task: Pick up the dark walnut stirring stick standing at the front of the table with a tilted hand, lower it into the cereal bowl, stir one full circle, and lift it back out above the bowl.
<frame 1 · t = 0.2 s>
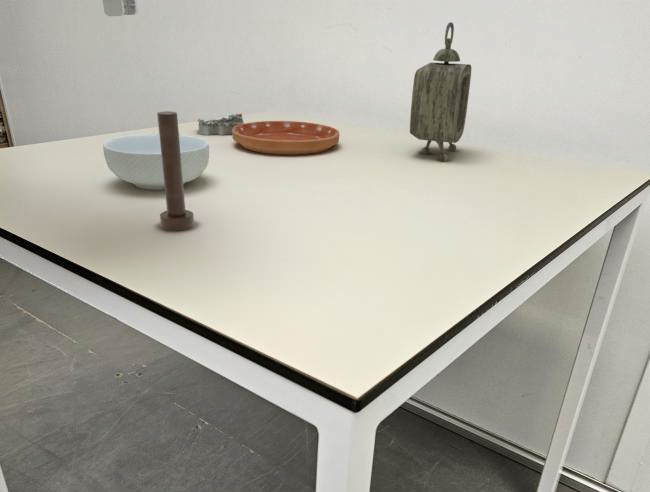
hand: (122, 15, 66), 26 cm above the table, tool pointing down, fingers open, 8 cm apart
saucer: (286, 147, 131), on the table
cereal bowl: (161, 186, 101), on the table
egg carton: (221, 134, 142), on the table
stirring stick: (178, 228, 82), on the table
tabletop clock: (434, 156, 126), on the table
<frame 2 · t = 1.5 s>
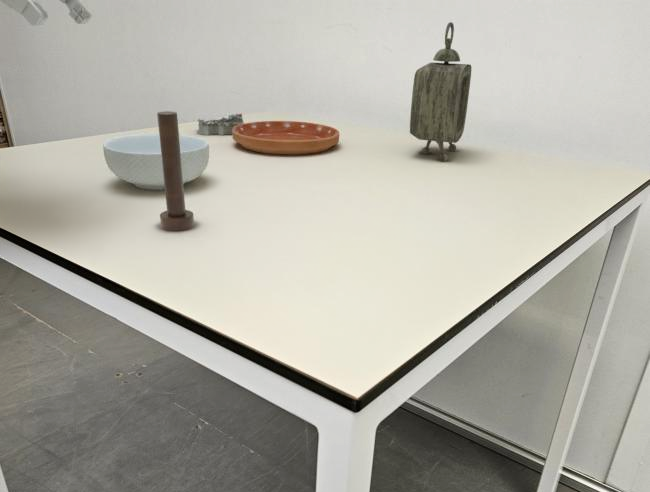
hand: (65, 20, 72), 25 cm above the table, tool tilted 45°, fingers open, 8 cm apart
nothing on the table moved.
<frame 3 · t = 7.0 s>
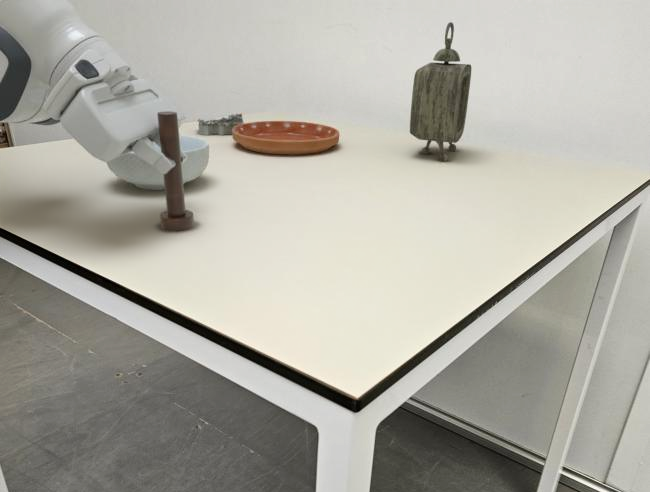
hand: (176, 166, 78), 8 cm above the table, tool tilted 45°, fingers closed on stirring stick, 2 cm apart
stirring stick: (178, 228, 82), on the table, touching gripper
everything else where it was.
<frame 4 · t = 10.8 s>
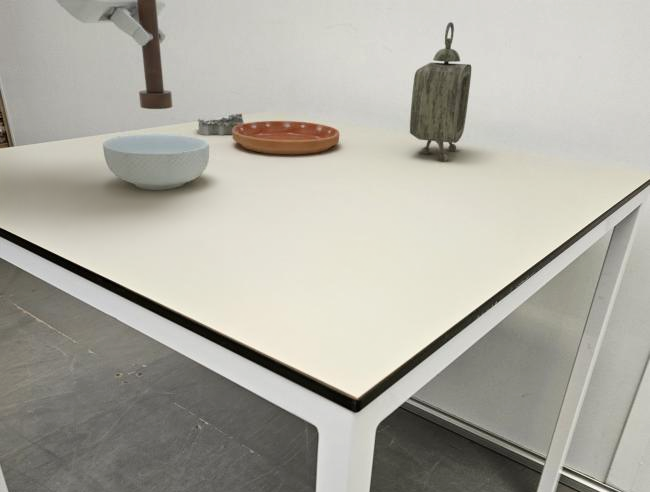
hand: (154, 41, 81), 22 cm above the table, tool tilted 45°, fingers closed on stirring stick, 2 cm apart
stirring stick: (156, 106, 85), point 14 cm above the table, touching gripper
everything else where it was.
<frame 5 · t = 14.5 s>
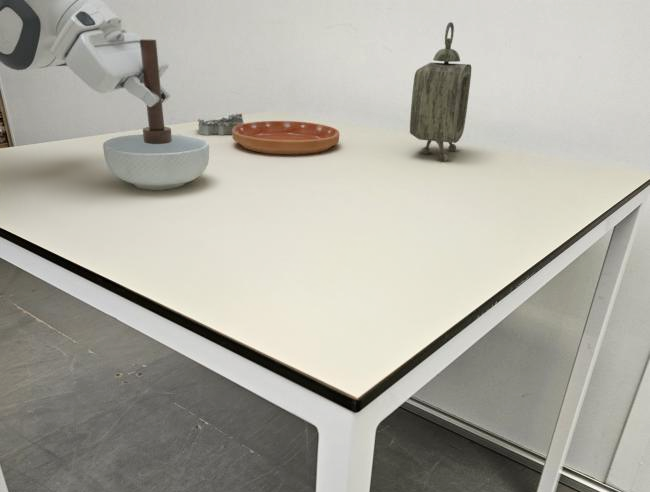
hand: (160, 101, 95), 13 cm above the table, tool tilted 45°, fingers closed on stirring stick, 2 cm apart
cereal bowl: (161, 186, 101), on the table, touching stirring stick
stirring stick: (158, 141, 98), point 7 cm above the table, touching cereal bowl, gripper
everything else where it was.
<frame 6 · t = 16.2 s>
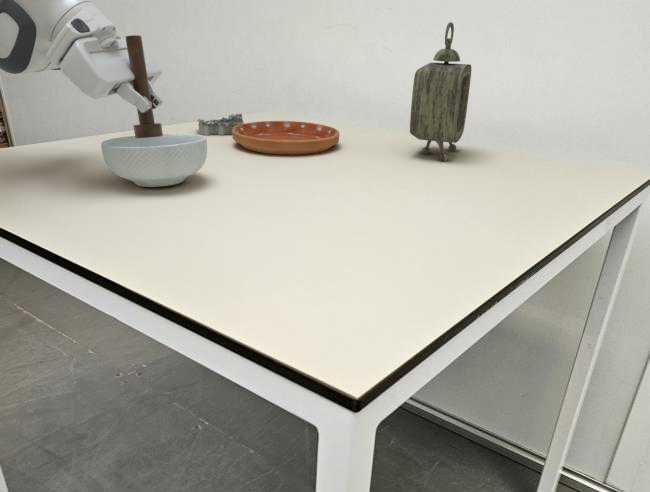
hand: (153, 107, 97), 12 cm above the table, tool tilted 45°, fingers closed on stirring stick, 2 cm apart
cereal bowl: (161, 183, 101), on the table
stirring stick: (149, 137, 99), point 8 cm above the table, tilted 9°, touching gripper
everything else where it was.
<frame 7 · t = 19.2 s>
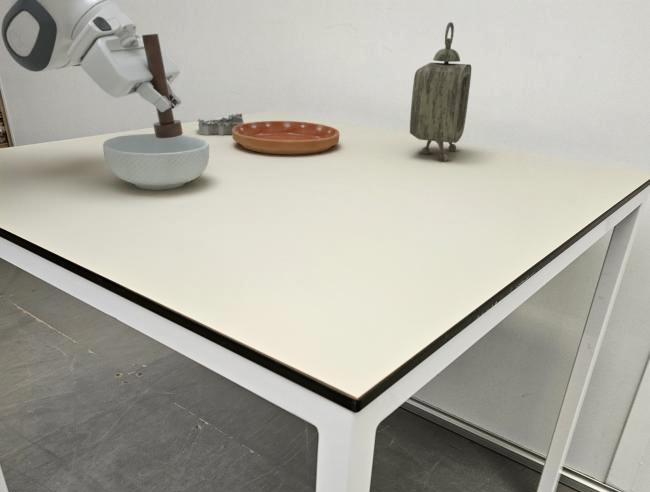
hand: (172, 107, 97), 12 cm above the table, tool tilted 45°, fingers closed on stirring stick, 2 cm apart
stirring stick: (169, 135, 99), point 8 cm above the table, tilted 6°, touching gripper
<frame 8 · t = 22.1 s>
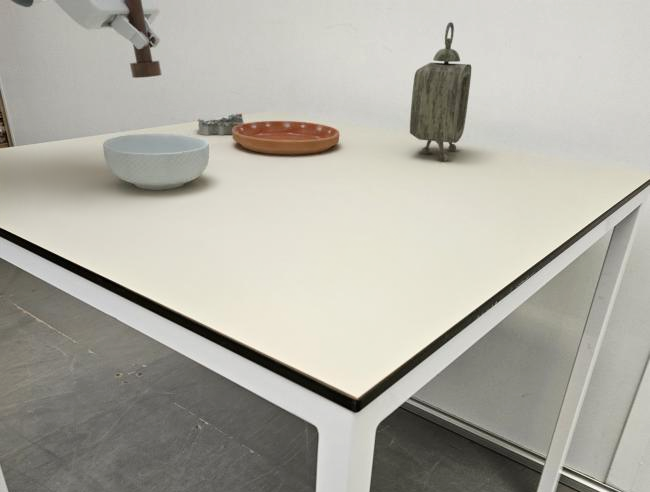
hand: (150, 45, 91), 21 cm above the table, tool tilted 45°, fingers closed on stirring stick, 2 cm apart
stirring stick: (147, 76, 93), point 17 cm above the table, tilted 5°, touching gripper
everything else where it was.
at the end: the gripper is holding stirring stick; stirring stick inside the target area on the cereal bowl (0.5 cm from its centre), point 17.1 cm above the cereal bowl's base; cereal bowl moved 0.2 cm from its start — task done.
